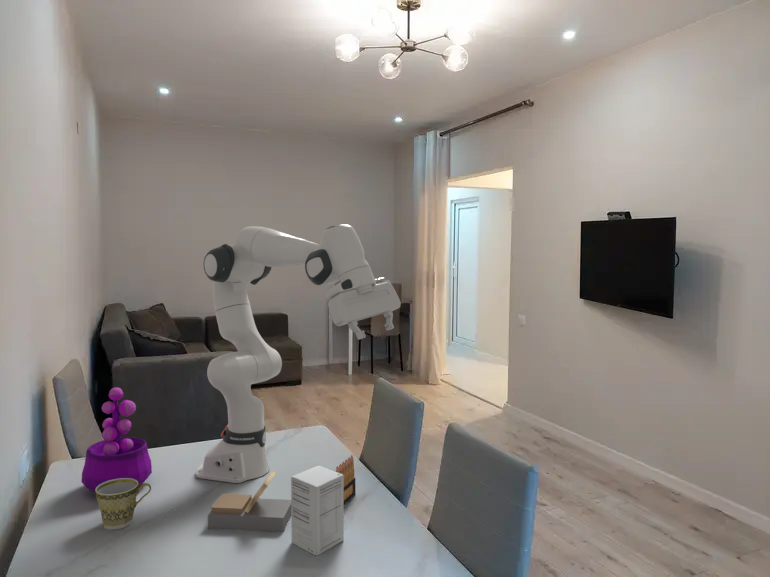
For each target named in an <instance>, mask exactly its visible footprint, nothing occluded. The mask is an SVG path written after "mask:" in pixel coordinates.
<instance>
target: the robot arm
mask: <svg viewBox="0 0 770 577" xmlns="http://www.w3.org/2000/svg"><path fill="white" fill-rule="evenodd" d="M298 265H304V268H305V274H306V276H307V278H308V279H309V281H310V282H311V283H312V284H314V285H315V286H327V285H333V286H331V287H330V288H328V289H327V290H326V291H325V297H326V299H328V302H327V303H328V304H327V306H328V311H329V313H330V317H331V320H332V322H333V324H334V325H335V326H337V327H342V326H344V325H348V328H349V329H350V330H351V331H352V332H353V333H354V334H355V336H356V338H357V340H358V341H359V340H362V339H365V338H366V336H367V335H366V334H365V330H364V329H362V330H361V328H360V327H359V326H358V324H359V323H358V322H359V321H361V320H362V321H363V320H365V319H369V318H373V317H376V316H379V315H380V316H381V315H383V317H384V318H385V322H386V323H384V324H383V326H384V328H385V331H387V332H388V331H390V330H393V329H394V328H395V326H394V323H393V318H394V313H393V311H395V310H397V309H400V308H401V304H402V302H401V300H400V299H401V298H400V297H399V295H398V293H397V291H396V290H395V288H394V286H393V284H392V283H391V280H389V279H388V278H386V277H384V276H383V277H379V278H375V276H374V273H373V270H372V268H371V266H370V264H369V262H368V260H367V257H366V254H365V249H364V247H363V245H362V242H361V239H360V237H359V235H358V233H357V231H356V230H355V229H354V227H353V226H352V225H351V224H346V223H343V224H335V225H331V226H329V227H327V228H326V229H324V230H323V233H322V237H321V240H320V242H319V243H318V242H315V241H311V240H307V239H305V238H301V237H297V236H294V235H291V234H288V233H285V232H283V231H282V232H281V231H279V230H276V229H273V228H269V227H266V226H259V225H258V226H256V225H254V226H253V225H251V226H246V227H243V228H242V229H241V230H240V231H239V232H238V234H237V236H236V239H235V243H234V244H232V245H228V244H227V243H223V244H222V245H220V246H218V247H215V248H212V249H211V250H209V251H208V252H207V253H206V255H205V256H204V259H203V270H204V273H205V276H206V277H207V278H208V279H209V280H210V281H213V283H212V300H213V309H214V313H215V317H216V322H217V325H218V326H217V327H218V332H219V334H220V336H221V337H222V339H224V340H226V341H228V342H230V343H231V344H233V345H234V347H235V348H236V350H237V351H234V352H228V353H224V354H221V355H218V356H217V357H214V358H213V359H211V360H210V361H209V364H208V366H207V371H206V374H207V379H208V382H209V383H210V384H211V386H212V387H213V388H214V389H217V391H219V392H220V393H221V394H222V396H223V397H224V401H225V402H226V408H227V420H228V421H227V422H228V423H227V425H226V426H225V427H224V429H223V430H222V432H221V433H220V437H221V438H222V439H221V440H220V441H219V442H217V443H216V444H215V445H213V446H212V447H211V448H210V449H208V450H207V452H206V454H205V456H204V459H203V463H201V464H200V465H199V466H198V467H197V469H196V471H195V477H196V478H197V479H202V480H209V481H210V480H211V481H218V482H225V483H233V484H240V483H243V482H246V481H248V480H254V479H258V478H261V477H262V476H264V475H265V476H266V474H267V473H268V472H269V471H270V465H269V463H268V459H267V454H266V440H267V431H266V426H265V405H264V402H263V401H262V400H261V398H259V397H257V396H256V395H253V393H252V388H251V387H252V385H254V384H259V383H263V382H267V381H269V380H271V379H273V378H275V377H277V376H278V375H279V374H280V373H281V371H282V366H283V361H282V357H281V355H280V353H279V352H278V350H276V349H275V348H273V347H271V346H270V345H269V344H268V343H266V341H265V340H264V339H263V337H262V336H261V334H260V332H259V331H258V328H257V325H256V323H255V319H254V315H253V311H252V306H251V303H250V299H249V296H248V286H249V285H250V284H251V285H253V286H255V285H257V284H258V283H259V282H260V281H261V280H263V279H265V278H266V277H268V275H269V274H270V273H271V270H272V268H285V267H292V266H298Z"/></svg>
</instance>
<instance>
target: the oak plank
mask: <svg viewBox="0 0 770 577" xmlns="http://www.w3.org/2000/svg"><path fill="white" fill-rule="evenodd" d="M276 474H277V473H276V472H275V471H273V470H272V471H271V472H270V474H268V476H267V478H265V481H264V482H263V483H262V484H261V486H260V488H259V489H258V490H257V491H256V492H255V495H254V496H252V500H251V501H250V503H249V504H248V506H247V507H246V509H245V510H244V511H245V512H247V513H248V512H249V511H250V509H251V508H252V507H253V505H254V504H255V503H256V501H257V500H258V498H260V497H261V496H262V494H264V491H265V490H266V489H267V487H269V484H270V483H271V481H272V480H273V478H274V477H275V476H276Z"/></svg>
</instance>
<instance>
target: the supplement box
mask: <svg viewBox="0 0 770 577" xmlns="http://www.w3.org/2000/svg"><path fill="white" fill-rule="evenodd" d="M290 482H291V483H290V488H291V489H290V492H291V493H290V498H291V499H290V500H291V517H290V520H291V522H290V523H291V526H290V528H291V544H293V545H295V546H296V547H299V548H300V549H302V550H304V551H306V552H308V553H310V554H312V555H313V556H315V555H316V556H315V557H318V556H319V555H321V554H323V553H324V552H326V551H328V550H329V549H331V548H333V547H334V546H337V545H338V544H340V543H341V542H343V541H344V538H345V537H344V534H345V533H344V523H345V522H344V521H345V520H344V518H345V517H344V515H345V513H344V512H345V511H344V509H345V507H344V506H345V505H344V475H343V474H340V473H338V472H336V470H335V471H334V470H331V469H330V468H327V467H323V466H322V465H316V466H313V467H311V468H309V469H306V470H303V471H301V472H299V473H297V474H294V475H292V476H291V477H290Z"/></svg>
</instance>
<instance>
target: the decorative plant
mask: <svg viewBox="0 0 770 577" xmlns="http://www.w3.org/2000/svg"><path fill="white" fill-rule="evenodd" d="M108 397H109V400H108V401H106V402H104V403H103V404H102V406H101V411H102V412H103V413H104V414H106V415H110V414H111V413H112V414H111V416H112V417H107V418H105V419H104V420H103V422H102V425H101V426H102V428H103V431H102V433H101V435H102V438H103V440H101V441H100V440H99V441H97V442H95V443H93V444H91V445H89V447H88V448H86V451H85V452H86V453H85V458H84V460H85V461H84V466H83V468H82V472H81V483H82V484H83V485H84V486H85V488H86V489H88V490H89V491H91V492H95V489H96V487H97V486H98V485H100V484H102V483H104V482H106V481H109V480H113V479H119V478H131V479H135V480H137V481H138V483H139V484H138V486H140V485H141V484H144V483H145V481H147V479H148V478H149V477H150V475H151V474H152V473H153V471H152V469H153V468H152V467H153V466H152V459H151V455H150V454H149V449H148V444H147V441H146V440H145V439H143V438H140V437H135V436H134V437H132V436H123V435H127V434H128V433H129V431H130V430H131V427H132V422H131V421H130V420H129V419H127V418H121V416H123V417H130V416H131V415H133V414H134V413H135V411H136V410H137V406H136V403H135V402H134V401H133V400H129V399H125V400H122V402H120V403H118V401H119V400H121V399H122V398H123V397H124V392H123V389H122V388H120V387H112V388H111V389H110V390H109V393H108ZM110 400H111V401H110ZM113 401H114V402H113ZM121 435H122V436H121ZM95 493H96V492H95Z"/></svg>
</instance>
